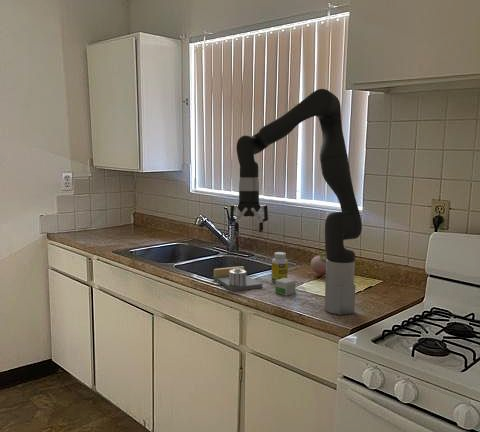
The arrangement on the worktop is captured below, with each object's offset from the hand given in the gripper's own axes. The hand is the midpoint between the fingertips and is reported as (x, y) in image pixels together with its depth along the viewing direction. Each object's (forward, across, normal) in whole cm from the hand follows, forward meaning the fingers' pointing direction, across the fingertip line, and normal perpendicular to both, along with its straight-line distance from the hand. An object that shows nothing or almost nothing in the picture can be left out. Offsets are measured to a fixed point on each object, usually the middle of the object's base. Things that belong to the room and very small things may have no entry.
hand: (248, 232), depth 186 cm
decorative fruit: (+22, -32, -20) cm, 43 cm away
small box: (+23, -14, +4) cm, 27 cm away
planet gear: (+20, +4, -2) cm, 21 cm away
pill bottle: (+22, -13, -12) cm, 28 cm away
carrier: (+22, +4, -8) cm, 23 cm away
